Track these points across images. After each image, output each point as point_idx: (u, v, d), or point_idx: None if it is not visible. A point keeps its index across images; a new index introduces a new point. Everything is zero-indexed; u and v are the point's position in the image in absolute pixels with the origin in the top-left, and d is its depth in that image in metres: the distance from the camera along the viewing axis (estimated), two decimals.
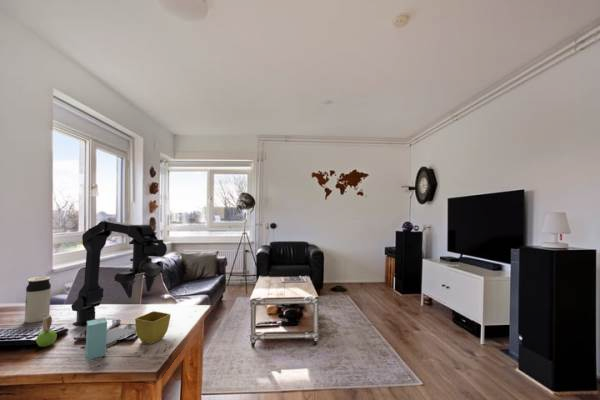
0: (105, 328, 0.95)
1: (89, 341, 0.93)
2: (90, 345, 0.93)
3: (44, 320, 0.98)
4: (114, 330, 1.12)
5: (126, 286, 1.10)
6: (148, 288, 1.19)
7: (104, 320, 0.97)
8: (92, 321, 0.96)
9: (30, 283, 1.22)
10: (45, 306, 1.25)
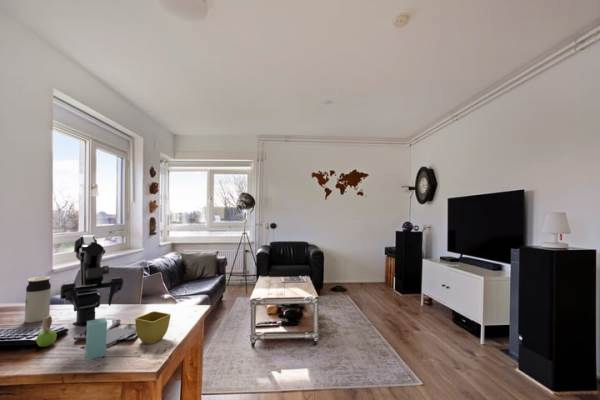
0: (105, 328, 0.95)
1: (89, 341, 0.93)
2: (90, 345, 0.93)
3: (44, 320, 0.98)
4: (114, 330, 1.12)
5: (73, 300, 1.01)
6: (108, 302, 1.06)
7: (104, 320, 0.97)
8: (92, 321, 0.96)
9: (30, 283, 1.22)
10: (45, 306, 1.25)
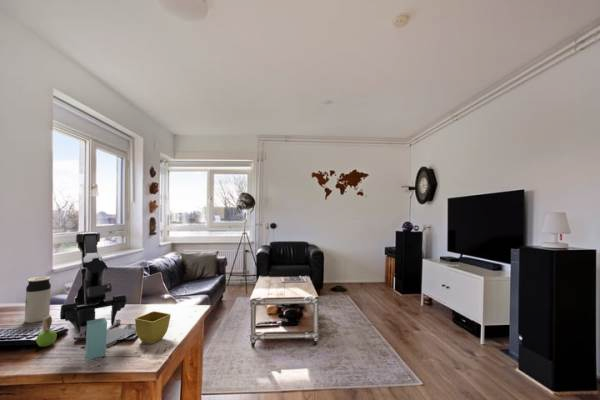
0: (105, 328, 0.95)
1: (89, 341, 0.93)
2: (90, 345, 0.93)
3: (44, 320, 0.98)
4: (114, 330, 1.12)
5: (74, 321, 0.95)
6: (111, 321, 1.00)
7: (104, 320, 0.97)
8: (92, 321, 0.96)
9: (30, 283, 1.22)
10: (45, 306, 1.25)
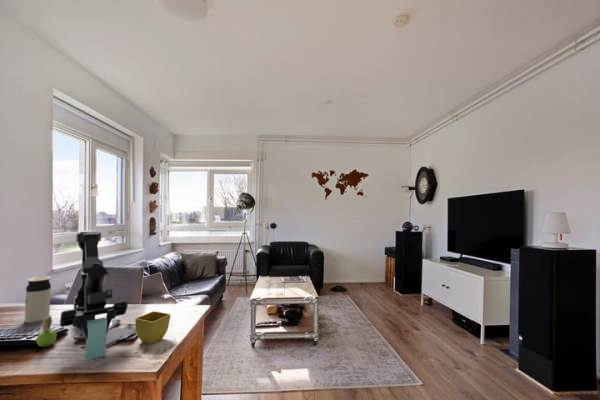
0: (105, 328, 0.95)
1: (89, 341, 0.93)
2: (90, 345, 0.93)
3: (44, 320, 0.98)
4: (114, 330, 1.12)
5: (81, 327, 0.95)
6: None
7: (104, 320, 0.97)
8: (92, 321, 0.96)
9: (30, 284, 1.22)
10: (45, 306, 1.25)
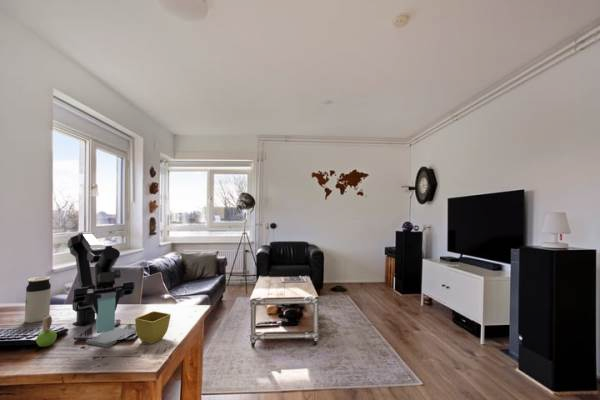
0: (114, 305, 1.03)
1: (99, 316, 1.00)
2: (100, 320, 1.00)
3: (44, 320, 0.98)
4: (114, 330, 1.12)
5: None
6: None
7: (113, 298, 1.04)
8: (102, 298, 1.03)
9: (30, 283, 1.22)
10: (45, 306, 1.25)
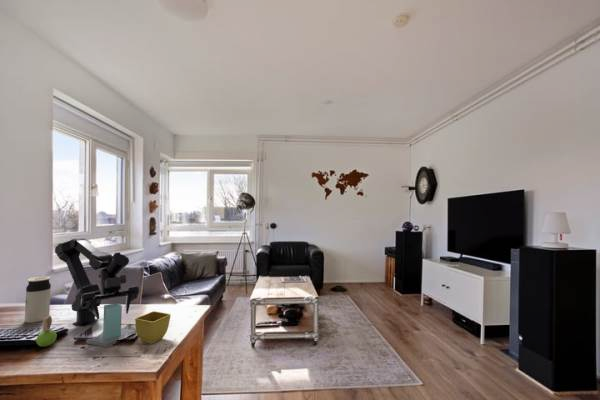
0: (120, 311, 1.08)
1: (106, 322, 1.05)
2: (107, 326, 1.05)
3: (44, 320, 0.98)
4: None
5: (93, 309, 1.06)
6: (126, 310, 1.11)
7: (119, 304, 1.09)
8: (108, 305, 1.08)
9: (30, 283, 1.22)
10: (45, 306, 1.25)
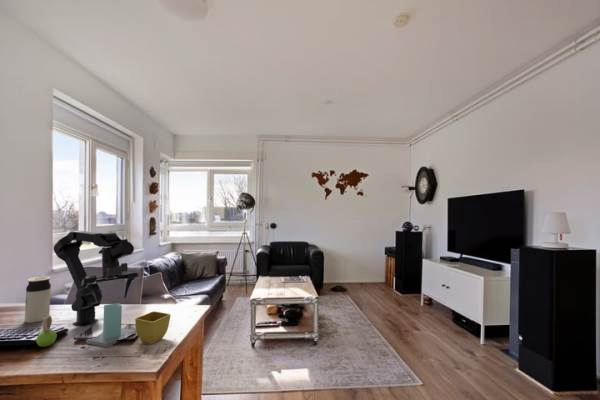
0: (120, 311, 1.08)
1: (106, 322, 1.05)
2: (107, 326, 1.05)
3: (44, 320, 0.98)
4: None
5: (93, 291, 1.11)
6: (124, 294, 1.17)
7: (119, 304, 1.09)
8: (108, 305, 1.08)
9: (30, 283, 1.22)
10: (45, 306, 1.25)
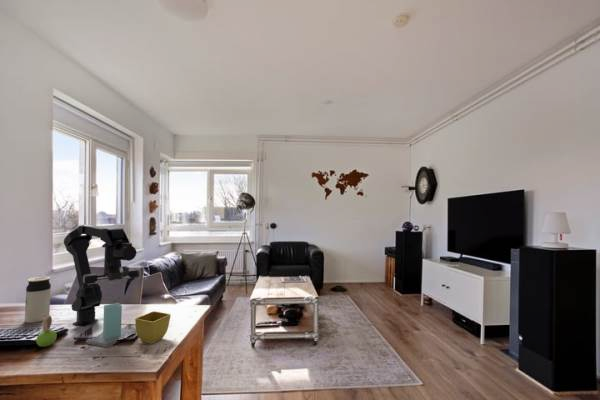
0: (120, 311, 1.08)
1: (106, 322, 1.05)
2: (107, 326, 1.05)
3: (44, 320, 0.98)
4: None
5: None
6: (123, 292, 1.19)
7: (119, 304, 1.09)
8: (108, 305, 1.08)
9: (30, 283, 1.22)
10: (45, 306, 1.25)
